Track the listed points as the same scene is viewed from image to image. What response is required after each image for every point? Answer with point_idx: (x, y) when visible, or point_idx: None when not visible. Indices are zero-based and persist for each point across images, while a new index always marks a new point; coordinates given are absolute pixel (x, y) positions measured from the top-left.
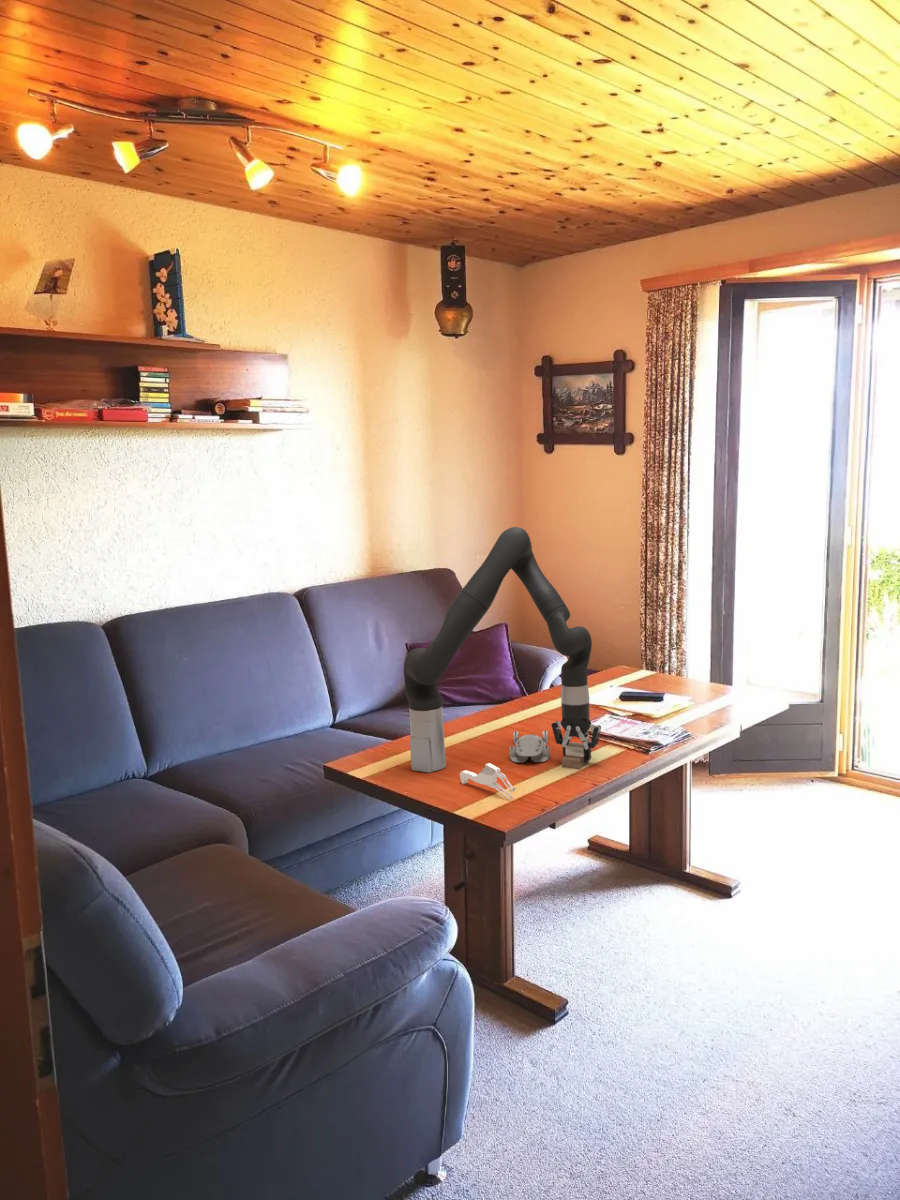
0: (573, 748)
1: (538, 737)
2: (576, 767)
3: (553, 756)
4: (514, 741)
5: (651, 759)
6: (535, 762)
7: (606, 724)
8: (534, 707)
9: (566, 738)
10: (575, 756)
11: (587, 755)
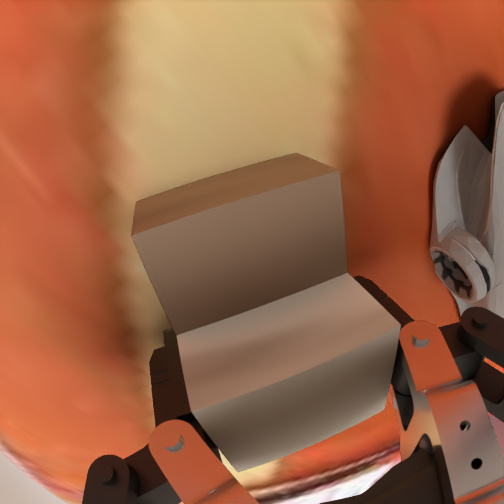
0: (304, 357)
1: None
2: (160, 198)
3: (419, 284)
4: None
5: (38, 478)
6: (462, 127)
7: (346, 493)
8: None
9: (445, 401)
10: (247, 304)
11: (167, 378)
